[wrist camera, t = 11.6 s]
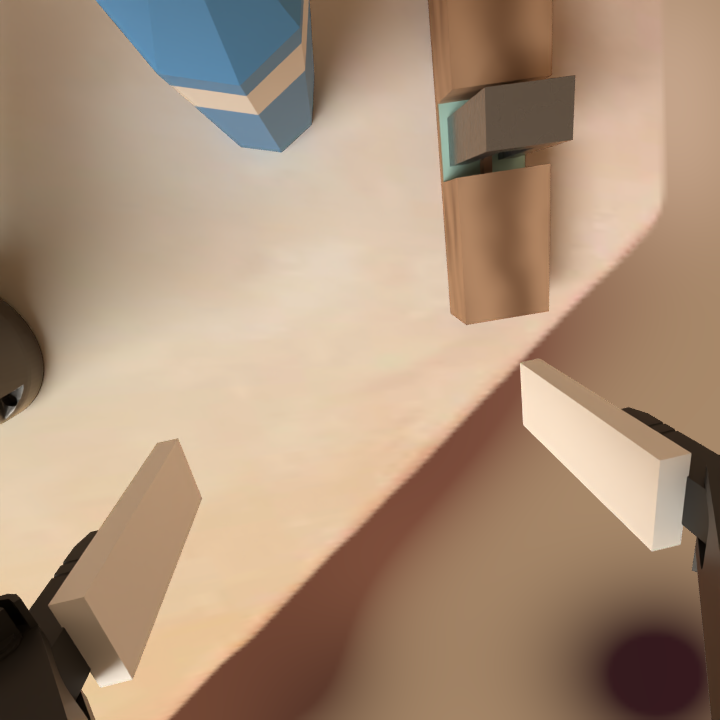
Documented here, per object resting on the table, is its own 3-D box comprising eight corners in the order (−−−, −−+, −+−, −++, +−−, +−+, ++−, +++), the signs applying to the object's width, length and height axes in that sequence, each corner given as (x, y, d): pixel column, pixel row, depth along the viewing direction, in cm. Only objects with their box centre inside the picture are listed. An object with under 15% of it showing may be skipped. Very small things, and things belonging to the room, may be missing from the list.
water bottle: (188, 48, 34) (-126, -350, 10) (296, 13, 33) (232, -473, 10) (232, 167, 37) (71, 77, 13) (331, 136, 37) (345, -12, 13)
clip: (449, 166, 38) (486, 151, 29) (447, 118, 36) (484, 87, 28) (516, 157, 38) (572, 139, 29) (516, 108, 37) (575, 75, 28)
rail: (450, 313, 43) (466, 324, 38) (426, -16, 34) (443, -54, 29) (524, 301, 43) (548, 311, 39) (521, -29, 34) (553, -69, 29)
